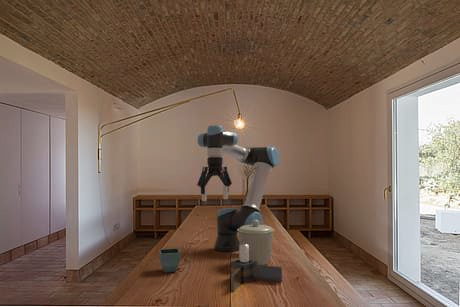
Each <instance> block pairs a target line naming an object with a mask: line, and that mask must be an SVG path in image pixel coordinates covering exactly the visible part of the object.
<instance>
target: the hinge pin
mask: <svg viewBox="0 0 460 307" xmlns="http://www.w3.org/2000/svg"><path fill="white" fill-rule="evenodd" d="M239 259H240V263H242V264H246V263H249V244H240V250H239Z"/></svg>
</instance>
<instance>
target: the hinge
mask: <svg viewBox="0 0 460 307" xmlns="http://www.w3.org/2000/svg"><path fill="white" fill-rule="evenodd" d="M230 279H231V282H230V283H231V284H230V285H231V288H230V289H231V290H230V291H231V292H235V291H236V290H237V289H238V288H239V287H240V286H241V284H243V283H244V284H245V283H247V282H252V281H264V282H275V283H282V282H283V266H277V265H268V264H267V265H257V261H253V260H249V263H246V264H242V263H240V258H239V259H235V260H231V261H230Z"/></svg>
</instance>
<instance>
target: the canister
mask: <svg viewBox="0 0 460 307" xmlns="http://www.w3.org/2000/svg"><path fill="white" fill-rule="evenodd" d="M252 224H253V225H244V226H241V227H240V228H238V229H237V231H238V232H237V233H238V238H239V242H240V244H249V260H253V261H257V265H267V266H268V264H269V263H270V261H271V257H272V256H271V255H272V250H273V249H272V247H273V238H274V237H273V236H274V232H275V229H274V228H272V227H271V226H269V225H266V224H262V225H259V221H258V220H253V221H252Z"/></svg>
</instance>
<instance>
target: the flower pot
mask: <svg viewBox="0 0 460 307" xmlns="http://www.w3.org/2000/svg"><path fill="white" fill-rule="evenodd" d="M158 251H159V259H160V264H161V267H162V271H163V272H164V273H171V272H177V270H178V268H179V265H180V262H181V261H180V260H181V250H180V249H179V248H177V247H174V248H162V249H159V250H158Z"/></svg>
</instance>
